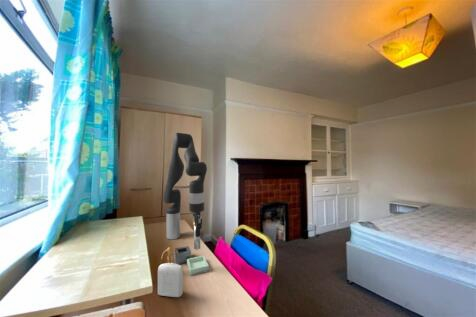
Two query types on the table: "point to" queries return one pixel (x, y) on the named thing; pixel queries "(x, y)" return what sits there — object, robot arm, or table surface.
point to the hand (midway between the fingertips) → (197, 235)
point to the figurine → (169, 253)
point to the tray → (197, 265)
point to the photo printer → (170, 280)
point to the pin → (196, 240)
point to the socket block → (182, 254)
